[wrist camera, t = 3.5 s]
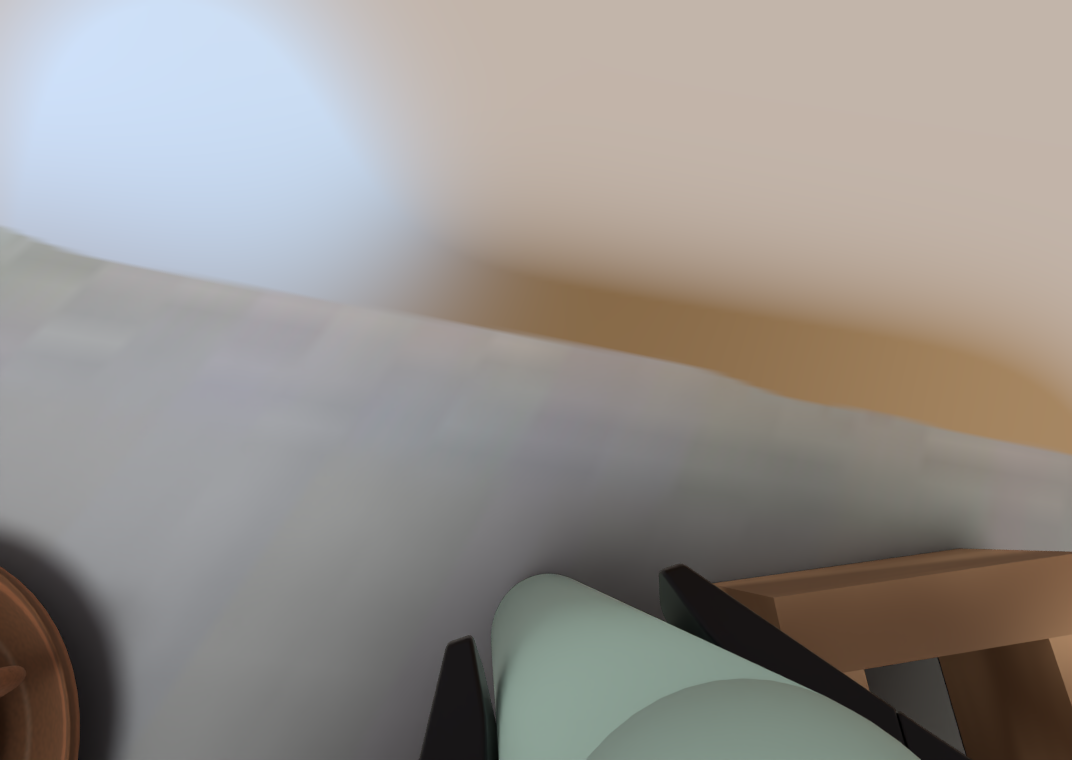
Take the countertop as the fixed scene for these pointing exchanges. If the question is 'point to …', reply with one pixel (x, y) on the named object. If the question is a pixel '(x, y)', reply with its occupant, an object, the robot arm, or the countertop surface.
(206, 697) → the countertop surface
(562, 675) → the dowel
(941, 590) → the wooden square socket block
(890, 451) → the countertop surface
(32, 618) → the cup and saucer
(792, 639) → the robot arm
